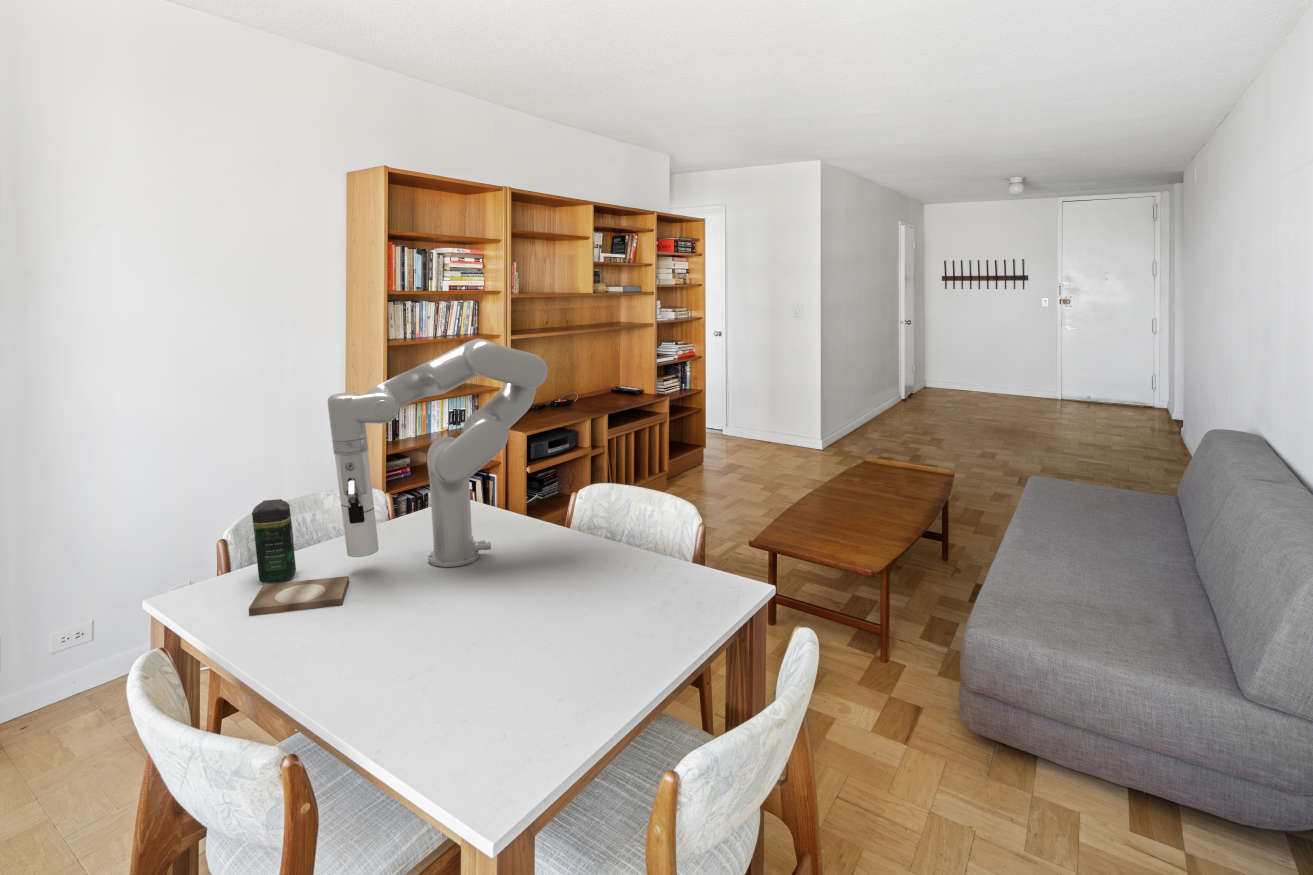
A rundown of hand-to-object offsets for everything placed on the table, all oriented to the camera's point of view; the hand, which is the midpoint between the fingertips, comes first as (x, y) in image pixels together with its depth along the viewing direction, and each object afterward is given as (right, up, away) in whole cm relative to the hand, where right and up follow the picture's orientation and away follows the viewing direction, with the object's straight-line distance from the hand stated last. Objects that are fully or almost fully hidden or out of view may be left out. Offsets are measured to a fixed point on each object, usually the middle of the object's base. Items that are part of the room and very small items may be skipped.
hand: (359, 516), depth 168 cm
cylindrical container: (0, -9, +2) cm, 9 cm away
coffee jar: (-19, -15, 0) cm, 24 cm away
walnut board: (-8, -17, -12) cm, 22 cm away
